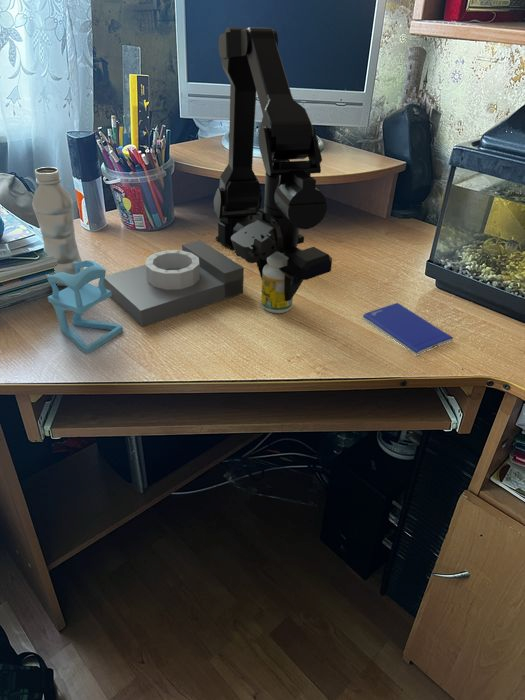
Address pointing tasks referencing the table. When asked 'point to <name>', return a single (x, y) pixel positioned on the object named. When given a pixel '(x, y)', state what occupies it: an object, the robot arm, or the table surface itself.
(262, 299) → the supplement bottle
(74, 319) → the chair
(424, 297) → the table surface
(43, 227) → the plastic bottle
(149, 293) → the grey ring holder base
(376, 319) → the hard drive
